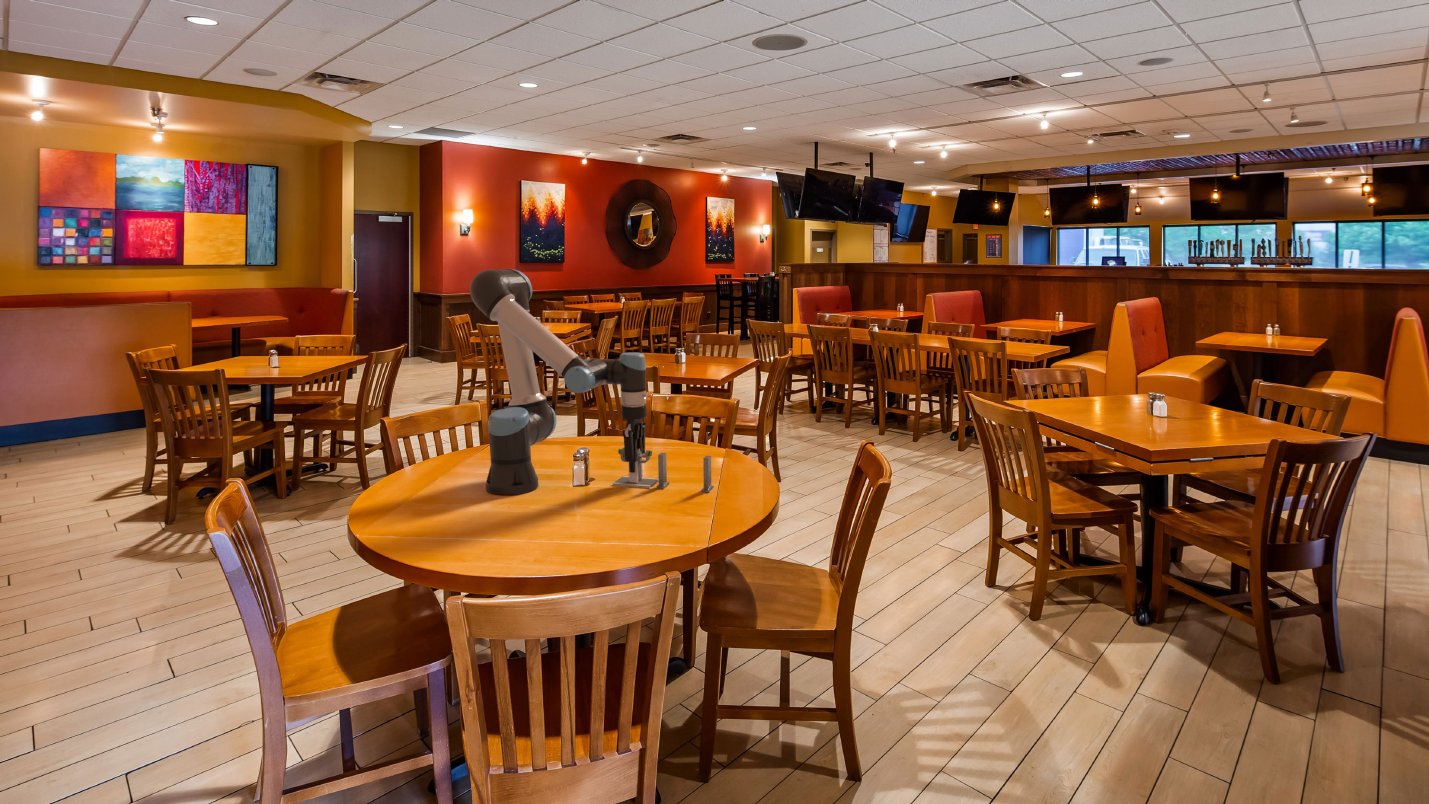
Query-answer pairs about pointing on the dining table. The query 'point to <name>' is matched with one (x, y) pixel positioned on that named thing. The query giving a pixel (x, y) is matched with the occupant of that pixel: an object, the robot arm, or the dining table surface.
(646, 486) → the mat
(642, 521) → the dining table surface
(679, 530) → the dining table surface
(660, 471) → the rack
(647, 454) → the mechanical component
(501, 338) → the robot arm
